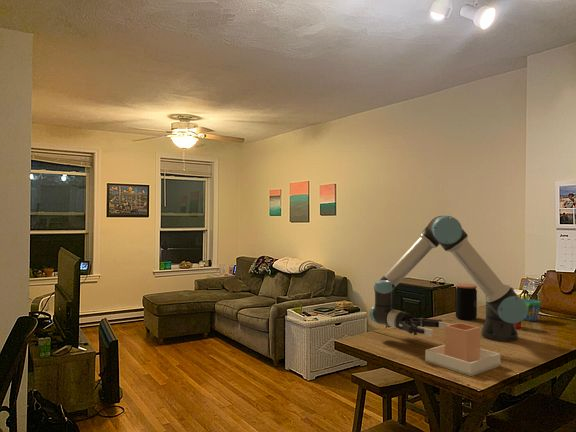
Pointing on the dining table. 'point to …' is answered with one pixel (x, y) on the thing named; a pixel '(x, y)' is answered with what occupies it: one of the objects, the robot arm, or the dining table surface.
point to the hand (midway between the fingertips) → (443, 330)
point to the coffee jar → (466, 301)
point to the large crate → (468, 368)
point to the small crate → (462, 342)
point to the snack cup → (532, 309)
